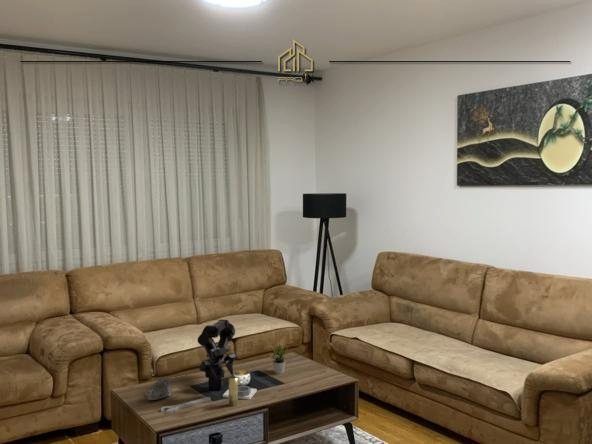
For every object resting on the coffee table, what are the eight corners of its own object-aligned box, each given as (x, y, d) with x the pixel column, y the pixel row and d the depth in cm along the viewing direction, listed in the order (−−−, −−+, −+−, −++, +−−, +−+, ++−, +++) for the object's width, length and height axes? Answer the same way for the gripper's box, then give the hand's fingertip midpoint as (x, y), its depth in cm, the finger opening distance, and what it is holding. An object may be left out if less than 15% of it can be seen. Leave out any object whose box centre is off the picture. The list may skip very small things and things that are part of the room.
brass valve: (227, 405, 271) (227, 376, 270) (230, 402, 275) (230, 372, 274) (235, 406, 270) (236, 377, 269) (239, 403, 274) (239, 373, 273)
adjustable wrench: (209, 399, 281) (209, 396, 281) (214, 403, 275) (214, 400, 275) (159, 410, 268) (159, 406, 267) (164, 415, 262) (164, 411, 262)
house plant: (264, 368, 324) (263, 340, 323) (288, 366, 326) (287, 338, 325) (267, 376, 310) (266, 347, 309) (292, 374, 312) (292, 345, 311)
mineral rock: (147, 403, 276) (146, 383, 275) (144, 395, 286) (143, 376, 285) (174, 399, 280) (173, 379, 280) (170, 391, 290) (169, 372, 290)
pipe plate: (222, 397, 282) (222, 390, 281) (230, 389, 293) (230, 382, 292) (249, 399, 278) (249, 392, 278) (256, 391, 289) (256, 384, 289)
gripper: (201, 344, 273) (214, 373, 265) (233, 337, 285) (247, 364, 277) (193, 357, 279) (205, 385, 272) (225, 349, 292) (238, 375, 284)
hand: (224, 377), depth 276 cm, fingers open, 9 cm apart
